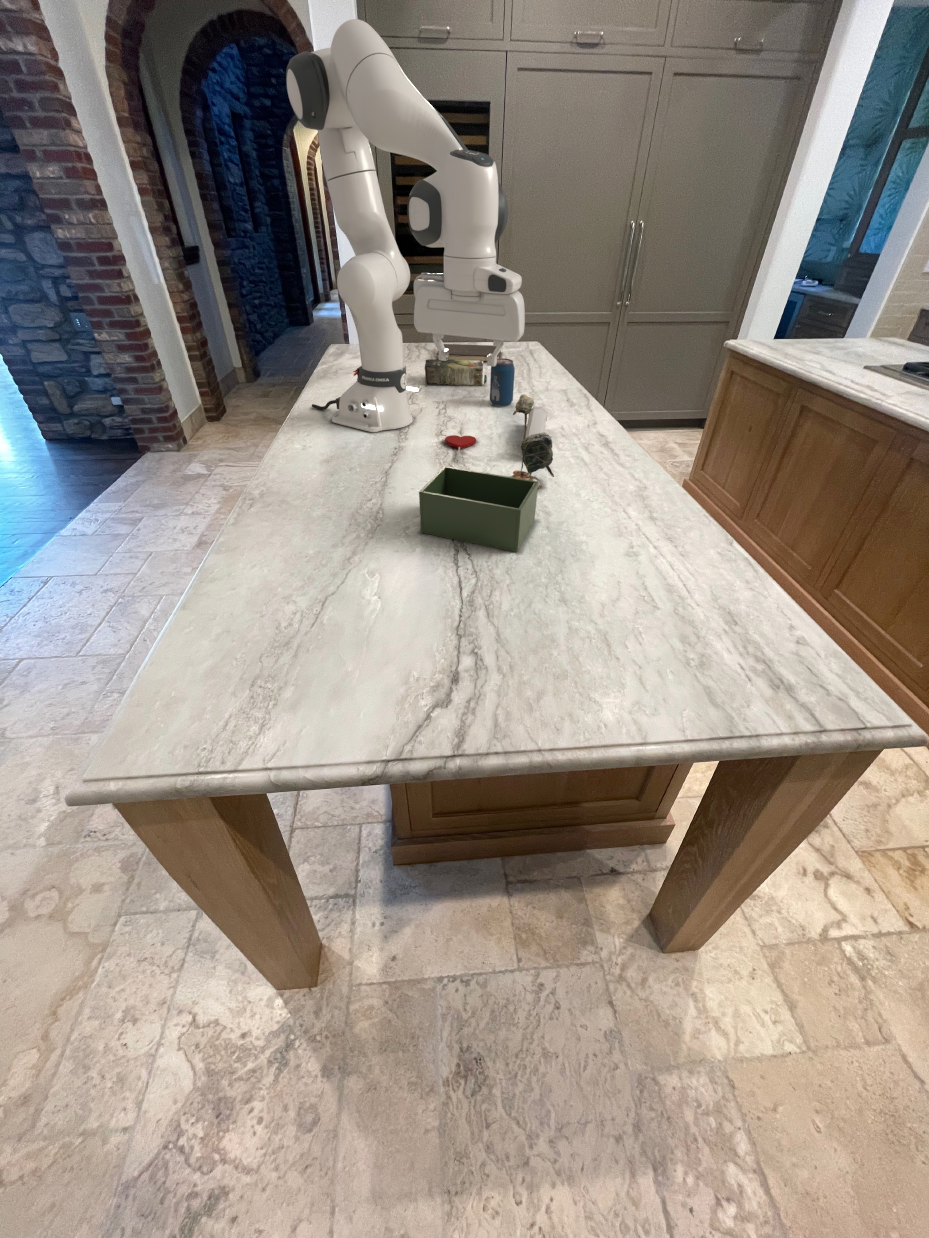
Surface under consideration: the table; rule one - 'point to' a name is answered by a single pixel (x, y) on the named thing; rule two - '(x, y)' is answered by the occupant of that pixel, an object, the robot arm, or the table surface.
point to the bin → (478, 507)
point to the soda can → (502, 383)
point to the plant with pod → (533, 446)
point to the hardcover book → (469, 352)
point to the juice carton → (455, 372)
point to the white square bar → (536, 421)
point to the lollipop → (460, 442)
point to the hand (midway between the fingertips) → (467, 362)
